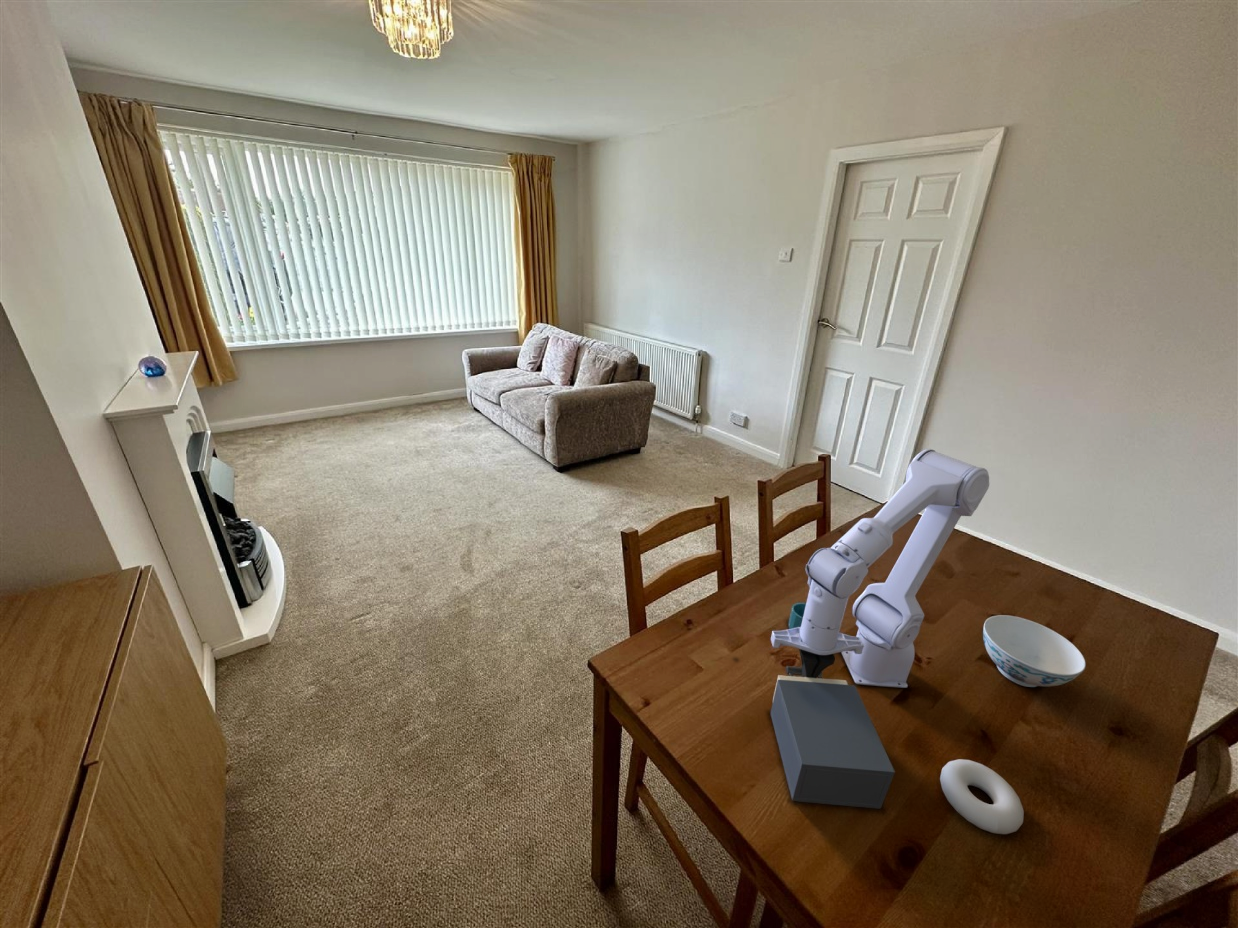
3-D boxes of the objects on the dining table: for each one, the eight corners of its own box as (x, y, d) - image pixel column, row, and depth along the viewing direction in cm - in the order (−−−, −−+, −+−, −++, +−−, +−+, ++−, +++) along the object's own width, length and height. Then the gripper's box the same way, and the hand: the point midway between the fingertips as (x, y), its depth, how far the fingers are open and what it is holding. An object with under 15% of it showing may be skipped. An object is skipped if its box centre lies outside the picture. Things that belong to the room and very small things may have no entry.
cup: (810, 619, 105) (814, 603, 103) (817, 637, 100) (821, 620, 99) (785, 618, 106) (789, 601, 104) (791, 635, 101) (795, 618, 99)
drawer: (767, 681, 88) (772, 656, 86) (830, 686, 88) (837, 660, 85) (792, 777, 72) (799, 749, 70) (869, 784, 72) (880, 755, 69)
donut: (981, 766, 76) (922, 770, 75) (989, 752, 74) (928, 755, 73) (1037, 837, 66) (970, 842, 66) (1047, 822, 65) (979, 826, 64)
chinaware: (1090, 704, 87) (1109, 673, 84) (1013, 707, 86) (1029, 676, 83) (1021, 643, 100) (1035, 614, 97) (953, 645, 99) (965, 615, 96)
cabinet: (770, 713, 83) (777, 679, 80) (844, 719, 83) (855, 685, 79) (792, 800, 70) (802, 764, 67) (880, 808, 69) (895, 772, 66)
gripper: (858, 603, 82) (841, 663, 87) (772, 598, 82) (760, 657, 88) (876, 633, 75) (856, 696, 81) (782, 627, 76) (768, 689, 81)
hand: (807, 678), depth 84 cm, fingers closed
